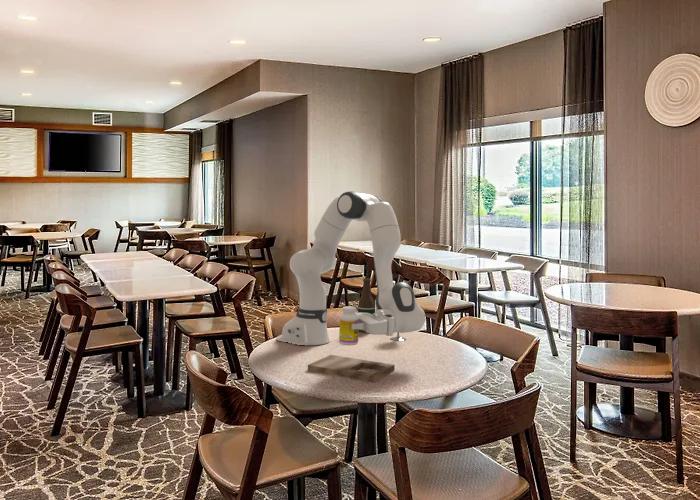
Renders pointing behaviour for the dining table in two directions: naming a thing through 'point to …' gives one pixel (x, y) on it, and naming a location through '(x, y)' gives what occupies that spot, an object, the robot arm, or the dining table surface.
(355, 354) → the dining table surface
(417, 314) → the robot arm
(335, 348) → the dining table surface
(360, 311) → the beer bottle
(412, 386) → the dining table surface
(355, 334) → the supplement bottle
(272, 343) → the dining table surface
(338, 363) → the caddy board
